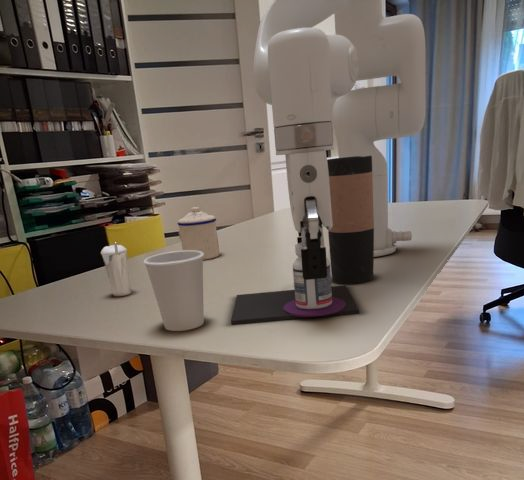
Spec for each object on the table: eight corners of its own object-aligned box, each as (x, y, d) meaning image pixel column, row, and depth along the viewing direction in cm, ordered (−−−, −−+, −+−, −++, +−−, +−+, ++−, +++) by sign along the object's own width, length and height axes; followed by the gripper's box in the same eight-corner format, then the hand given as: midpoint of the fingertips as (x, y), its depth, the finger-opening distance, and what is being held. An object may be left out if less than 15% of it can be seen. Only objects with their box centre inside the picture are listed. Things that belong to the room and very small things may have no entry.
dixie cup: (163, 338, 71) (150, 265, 67) (150, 323, 78) (137, 256, 74) (220, 325, 73) (211, 255, 70) (203, 312, 81) (193, 247, 77)
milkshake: (113, 299, 94) (102, 244, 90) (107, 294, 98) (96, 241, 95) (138, 294, 96) (128, 240, 92) (131, 289, 100) (121, 237, 97)
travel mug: (326, 284, 89) (319, 161, 82) (335, 273, 96) (330, 158, 89) (371, 284, 87) (368, 156, 79) (378, 273, 93) (375, 154, 86)
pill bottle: (333, 299, 77) (330, 238, 74) (331, 309, 73) (328, 245, 69) (297, 300, 78) (293, 241, 75) (293, 311, 74) (288, 248, 70)
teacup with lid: (228, 254, 125) (222, 204, 121) (198, 262, 119) (191, 210, 115) (197, 251, 133) (191, 204, 129) (168, 258, 128) (160, 210, 123)
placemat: (345, 288, 86) (345, 283, 85) (361, 316, 71) (361, 310, 71) (237, 298, 87) (236, 293, 86) (230, 328, 72) (229, 321, 72)
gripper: (341, 136, 59) (347, 282, 65) (326, 138, 75) (332, 256, 82) (275, 143, 60) (287, 288, 66) (274, 144, 76) (284, 260, 82)
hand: (312, 270), depth 74 cm, fingers open, 9 cm apart
